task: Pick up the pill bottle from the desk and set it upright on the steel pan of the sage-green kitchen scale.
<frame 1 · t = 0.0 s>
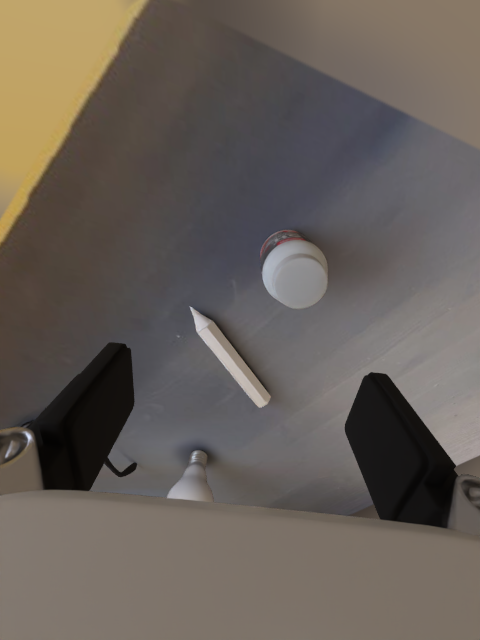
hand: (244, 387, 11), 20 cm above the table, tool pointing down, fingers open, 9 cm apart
white pencil: (229, 351, 34), on the table
lightbulb: (199, 451, 42), on the table
pill bottle: (284, 255, 29), on the table
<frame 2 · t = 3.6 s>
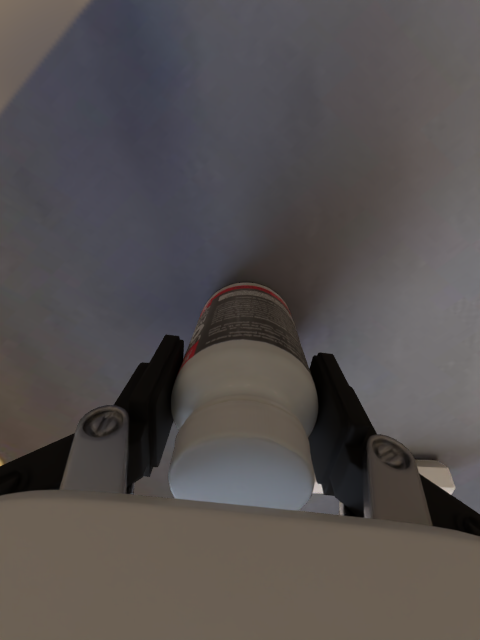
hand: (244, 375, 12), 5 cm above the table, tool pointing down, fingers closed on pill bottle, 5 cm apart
white pencil: (329, 459, 21), on the table
pill bottle: (245, 322, 16), on the table, touching gripper
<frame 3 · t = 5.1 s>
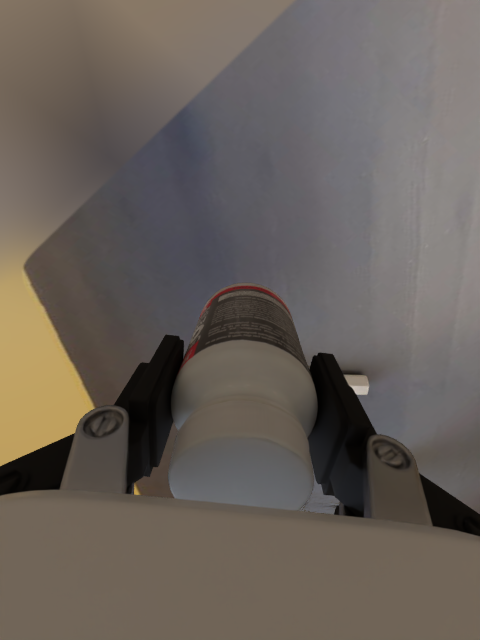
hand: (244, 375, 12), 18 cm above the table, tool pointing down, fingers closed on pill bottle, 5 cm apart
white pencil: (294, 376, 33), on the table
pill bottle: (245, 322, 16), point 12 cm above the table, touching gripper
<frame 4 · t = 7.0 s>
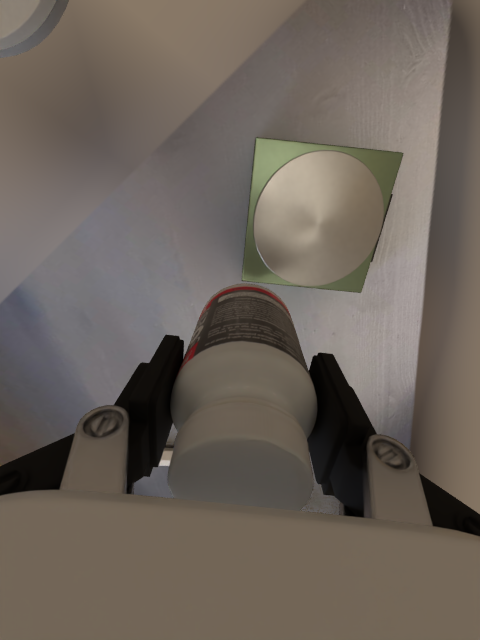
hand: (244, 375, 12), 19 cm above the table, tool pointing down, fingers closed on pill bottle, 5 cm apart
white pencil: (150, 449, 42), on the table
scale: (307, 220, 27), on the table
pill bottle: (245, 323, 16), point 14 cm above the table, touching gripper
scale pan: (316, 224, 23), point 4 cm above the table, slide at 0.0 cm
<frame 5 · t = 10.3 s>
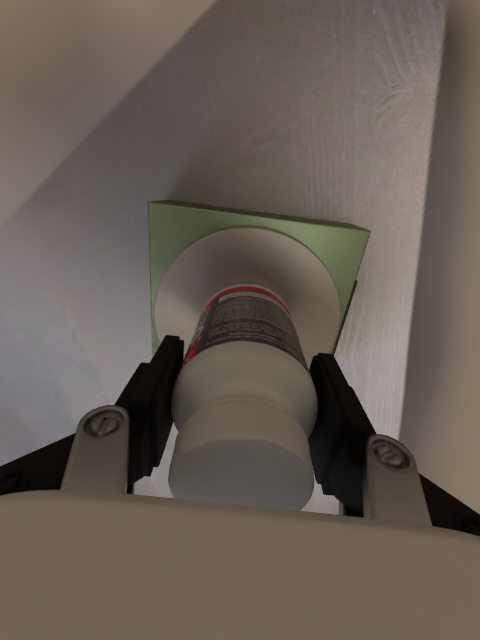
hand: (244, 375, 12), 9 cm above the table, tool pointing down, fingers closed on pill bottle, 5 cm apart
scale: (246, 300, 20), on the table
pill bottle: (245, 323, 16), point 4 cm above the table, touching gripper, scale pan
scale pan: (246, 321, 16), point 4 cm above the table, slide at -0.2 cm, touching pill bottle
when the fingers open (9 cm above the table, at t = 10.4 s): pill bottle stays where it is, resting on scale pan.
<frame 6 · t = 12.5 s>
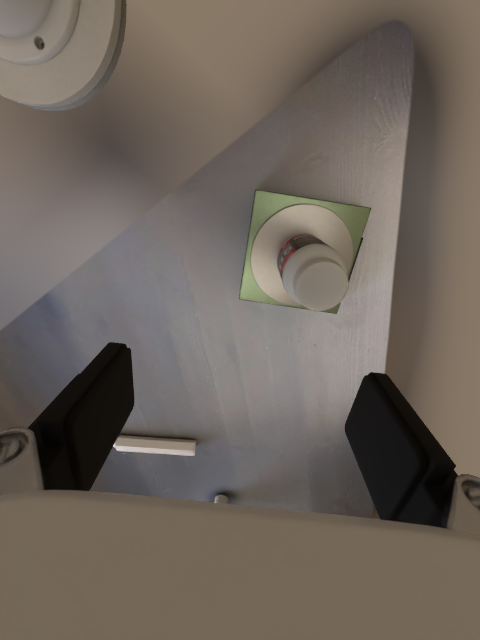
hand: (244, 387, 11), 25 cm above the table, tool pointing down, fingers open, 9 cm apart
white pencil: (151, 438, 47), on the table
scale: (295, 252, 33), on the table
pill bottle: (300, 258, 29), point 4 cm above the table, touching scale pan
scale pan: (300, 258, 30), point 3 cm above the table, slide at -0.4 cm, touching pill bottle
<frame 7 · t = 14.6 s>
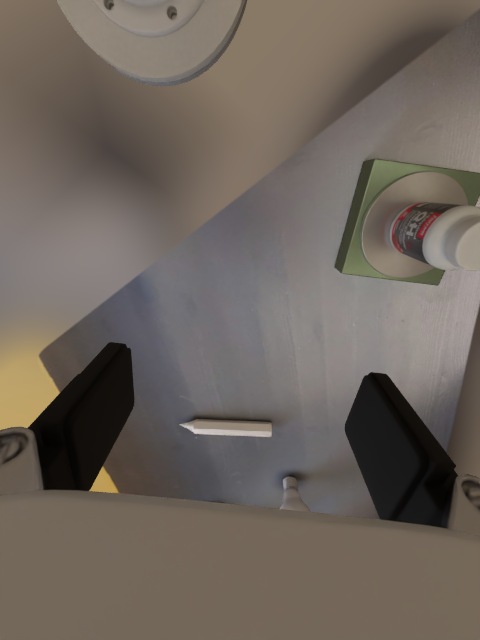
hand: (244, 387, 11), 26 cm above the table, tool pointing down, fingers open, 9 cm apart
white pencil: (225, 421, 48), on the table
lightbulb: (288, 477, 54), on the table
scale: (396, 224, 33), on the table
pill bottle: (412, 228, 29), point 4 cm above the table, touching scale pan
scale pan: (411, 228, 30), point 3 cm above the table, slide at -0.4 cm, touching pill bottle
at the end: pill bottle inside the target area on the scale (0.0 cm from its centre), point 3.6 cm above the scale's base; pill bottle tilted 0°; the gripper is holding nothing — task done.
